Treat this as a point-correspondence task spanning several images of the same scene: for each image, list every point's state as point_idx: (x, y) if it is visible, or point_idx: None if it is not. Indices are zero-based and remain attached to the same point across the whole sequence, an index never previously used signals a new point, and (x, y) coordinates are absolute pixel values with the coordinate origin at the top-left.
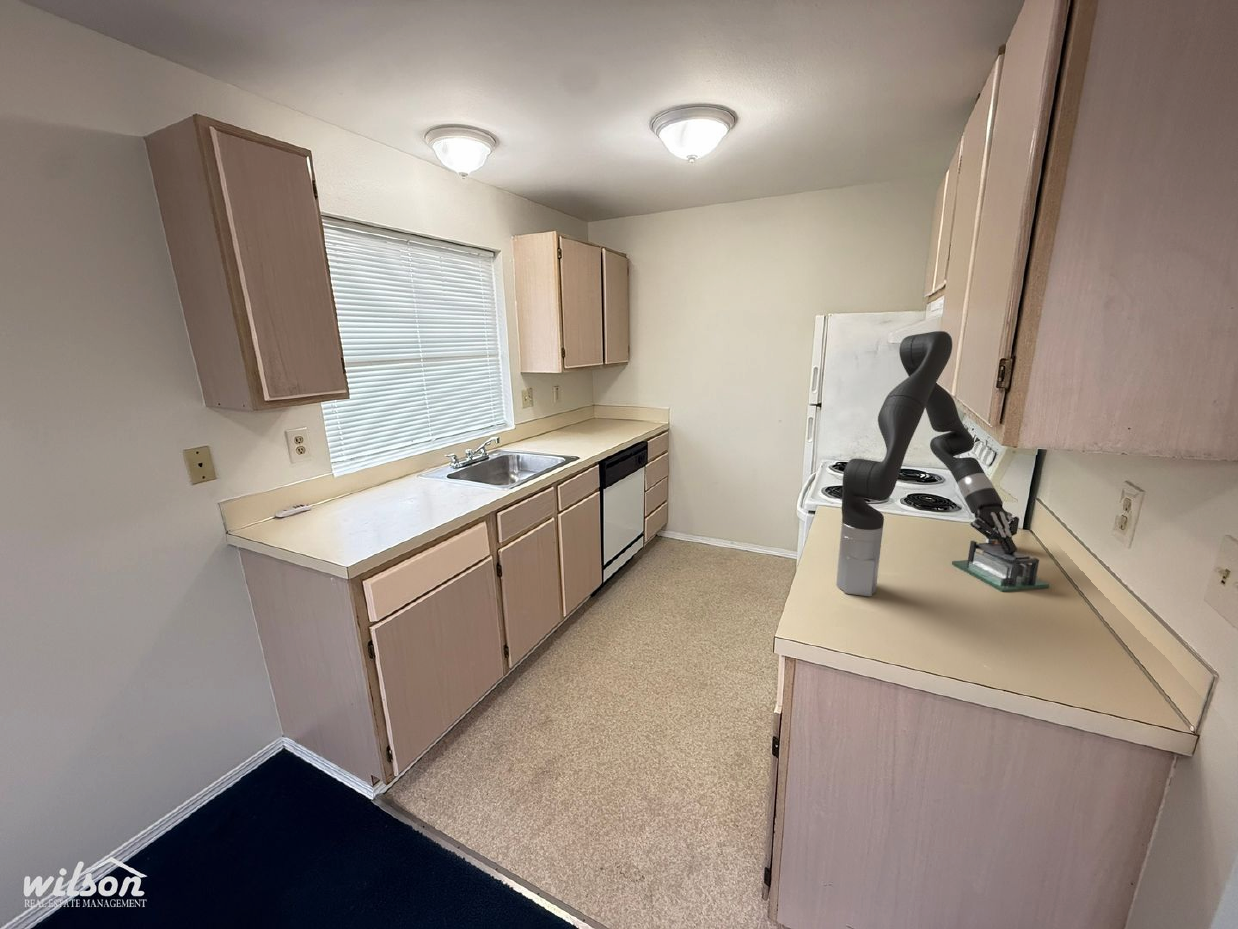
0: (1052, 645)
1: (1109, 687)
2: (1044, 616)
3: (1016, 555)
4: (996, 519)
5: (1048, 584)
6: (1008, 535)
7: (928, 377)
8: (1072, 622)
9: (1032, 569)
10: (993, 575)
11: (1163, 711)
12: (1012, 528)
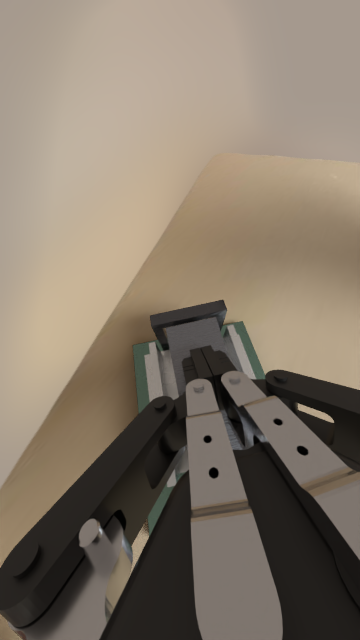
0: (247, 208)
1: (235, 171)
2: (216, 257)
3: (198, 339)
4: (304, 471)
5: (134, 345)
6: (206, 382)
7: None
8: (188, 248)
9: (165, 333)
10: (246, 356)
11: (215, 160)
12: (158, 426)
